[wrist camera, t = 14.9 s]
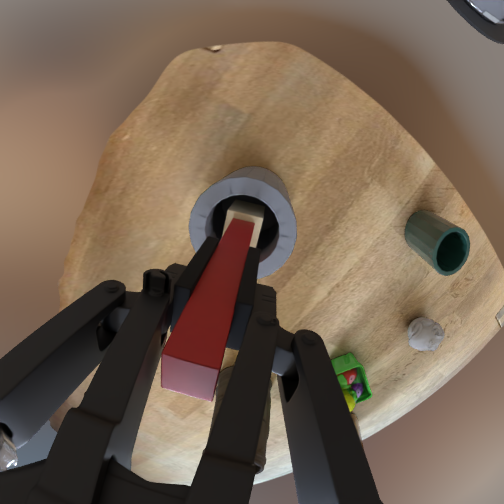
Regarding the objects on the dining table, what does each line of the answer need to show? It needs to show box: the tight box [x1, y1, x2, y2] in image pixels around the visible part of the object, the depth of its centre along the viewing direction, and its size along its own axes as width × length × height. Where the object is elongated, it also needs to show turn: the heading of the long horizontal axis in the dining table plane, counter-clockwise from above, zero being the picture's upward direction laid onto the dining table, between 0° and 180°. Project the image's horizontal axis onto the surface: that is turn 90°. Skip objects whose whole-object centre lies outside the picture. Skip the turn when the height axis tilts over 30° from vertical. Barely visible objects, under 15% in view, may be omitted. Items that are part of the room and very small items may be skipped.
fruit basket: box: [331, 353, 372, 412], centre depth 42 cm, size 11×9×11 cm
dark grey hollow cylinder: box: [202, 366, 272, 474], centre depth 42 cm, size 15×11×20 cm
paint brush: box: [161, 199, 265, 401], centre depth 19 cm, size 3×3×22 cm
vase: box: [189, 166, 297, 279], centre depth 30 cm, size 9×9×14 cm
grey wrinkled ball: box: [408, 317, 444, 351], centre depth 39 cm, size 6×7×7 cm
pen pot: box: [405, 210, 470, 276], centre depth 31 cm, size 7×7×9 cm
